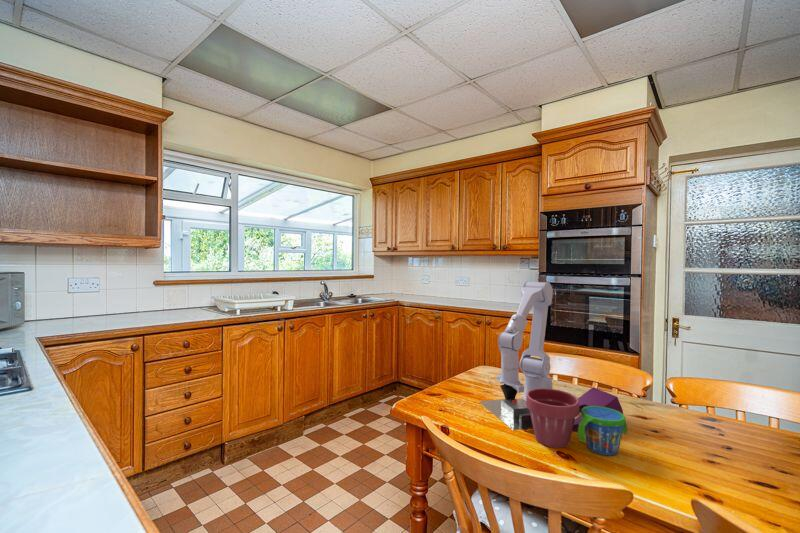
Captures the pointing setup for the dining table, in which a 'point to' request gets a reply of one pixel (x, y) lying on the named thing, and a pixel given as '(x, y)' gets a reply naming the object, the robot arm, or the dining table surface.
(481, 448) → the dining table surface
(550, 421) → the plant pot
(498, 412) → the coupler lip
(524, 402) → the block
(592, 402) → the mounting bracket
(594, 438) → the snack cup
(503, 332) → the robot arm
